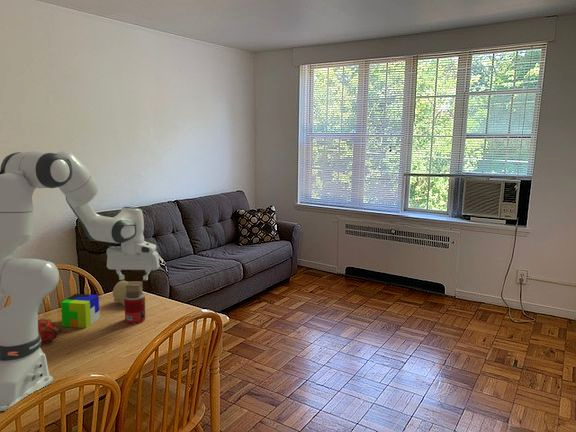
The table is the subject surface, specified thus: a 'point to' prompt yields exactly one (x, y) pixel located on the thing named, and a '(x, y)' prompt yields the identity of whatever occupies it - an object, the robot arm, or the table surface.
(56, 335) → the dragon fruit
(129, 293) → the walnut cube
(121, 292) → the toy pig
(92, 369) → the table surface
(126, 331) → the table surface
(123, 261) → the robot arm
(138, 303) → the canned food
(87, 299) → the puzzle toy
